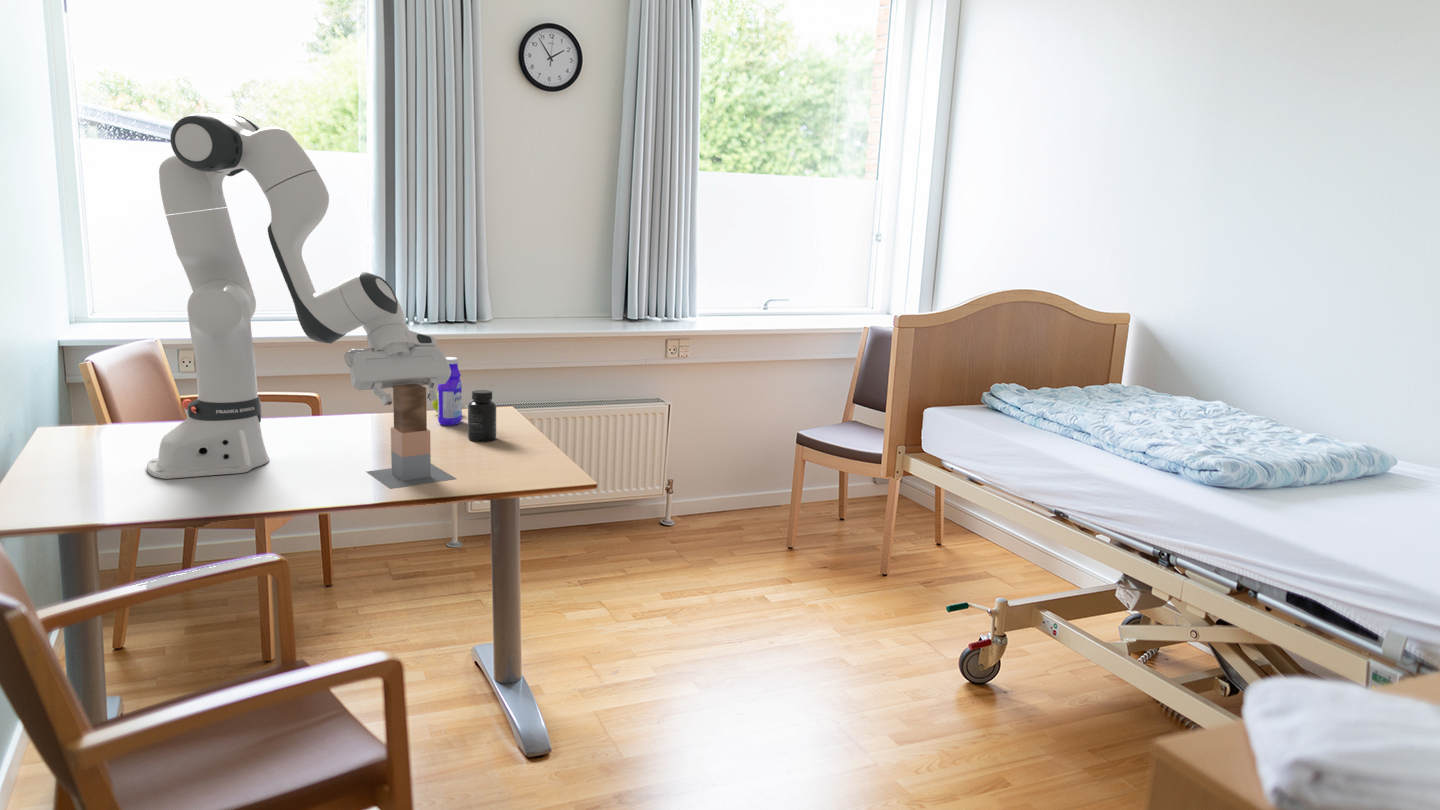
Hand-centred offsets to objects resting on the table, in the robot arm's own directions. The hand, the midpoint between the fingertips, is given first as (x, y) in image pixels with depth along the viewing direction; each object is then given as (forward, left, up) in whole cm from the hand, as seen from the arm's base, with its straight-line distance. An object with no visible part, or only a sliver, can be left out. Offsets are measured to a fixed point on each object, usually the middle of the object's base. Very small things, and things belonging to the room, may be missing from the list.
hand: (411, 401), depth 189 cm
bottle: (+27, +43, -17) cm, 53 cm away
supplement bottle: (+27, +24, -17) cm, 40 cm away
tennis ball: (+30, +53, -17) cm, 63 cm away
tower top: (0, +1, -11) cm, 11 cm away
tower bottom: (0, +1, -16) cm, 16 cm away
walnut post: (0, +1, -6) cm, 6 cm away
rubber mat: (0, +1, -16) cm, 16 cm away
